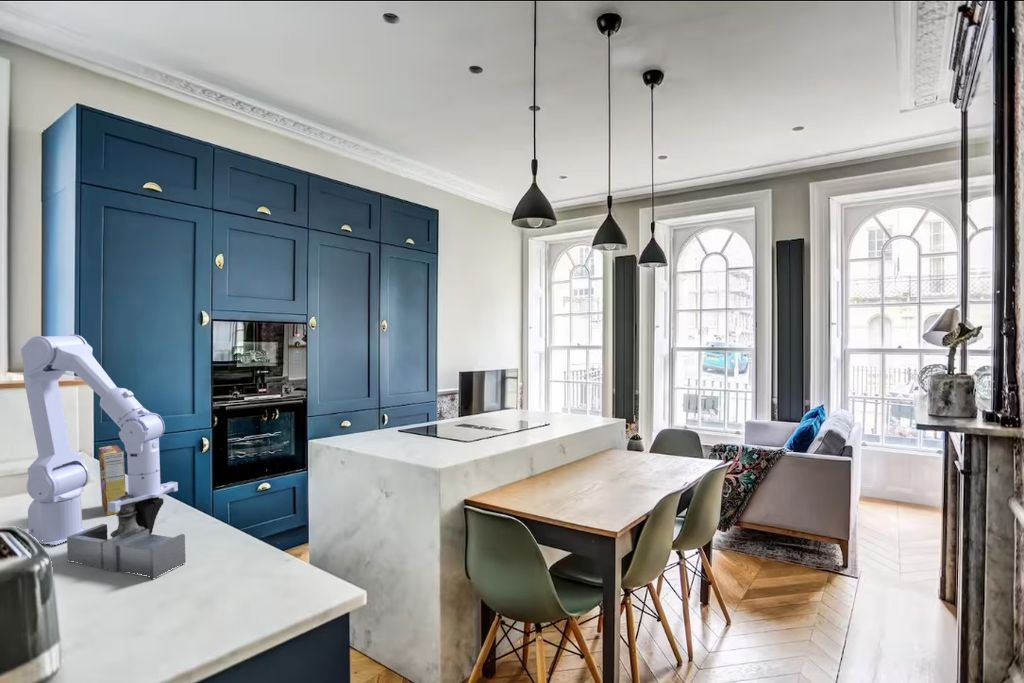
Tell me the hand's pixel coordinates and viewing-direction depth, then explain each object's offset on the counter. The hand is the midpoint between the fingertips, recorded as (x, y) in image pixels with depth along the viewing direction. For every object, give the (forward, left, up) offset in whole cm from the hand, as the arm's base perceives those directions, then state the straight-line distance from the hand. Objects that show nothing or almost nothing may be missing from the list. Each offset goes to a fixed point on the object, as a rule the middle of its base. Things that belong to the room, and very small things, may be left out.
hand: (146, 533), depth 118 cm
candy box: (-25, +12, -2) cm, 28 cm away
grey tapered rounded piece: (0, -4, -2) cm, 4 cm away
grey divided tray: (+6, -9, -1) cm, 11 cm away
